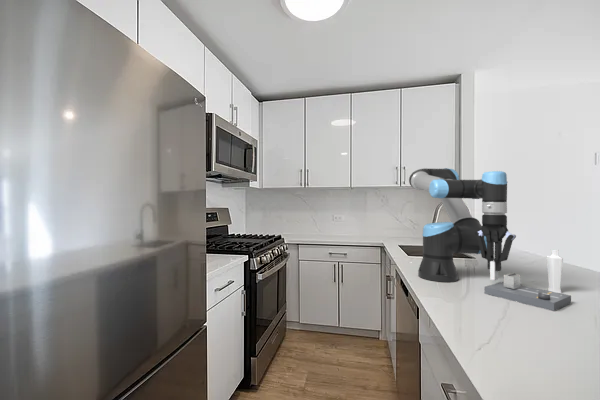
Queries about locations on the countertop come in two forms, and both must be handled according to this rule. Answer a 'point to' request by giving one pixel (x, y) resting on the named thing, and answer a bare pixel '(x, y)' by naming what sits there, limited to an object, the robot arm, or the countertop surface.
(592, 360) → the countertop surface
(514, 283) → the fader
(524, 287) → the console
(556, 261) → the perfume bottle
